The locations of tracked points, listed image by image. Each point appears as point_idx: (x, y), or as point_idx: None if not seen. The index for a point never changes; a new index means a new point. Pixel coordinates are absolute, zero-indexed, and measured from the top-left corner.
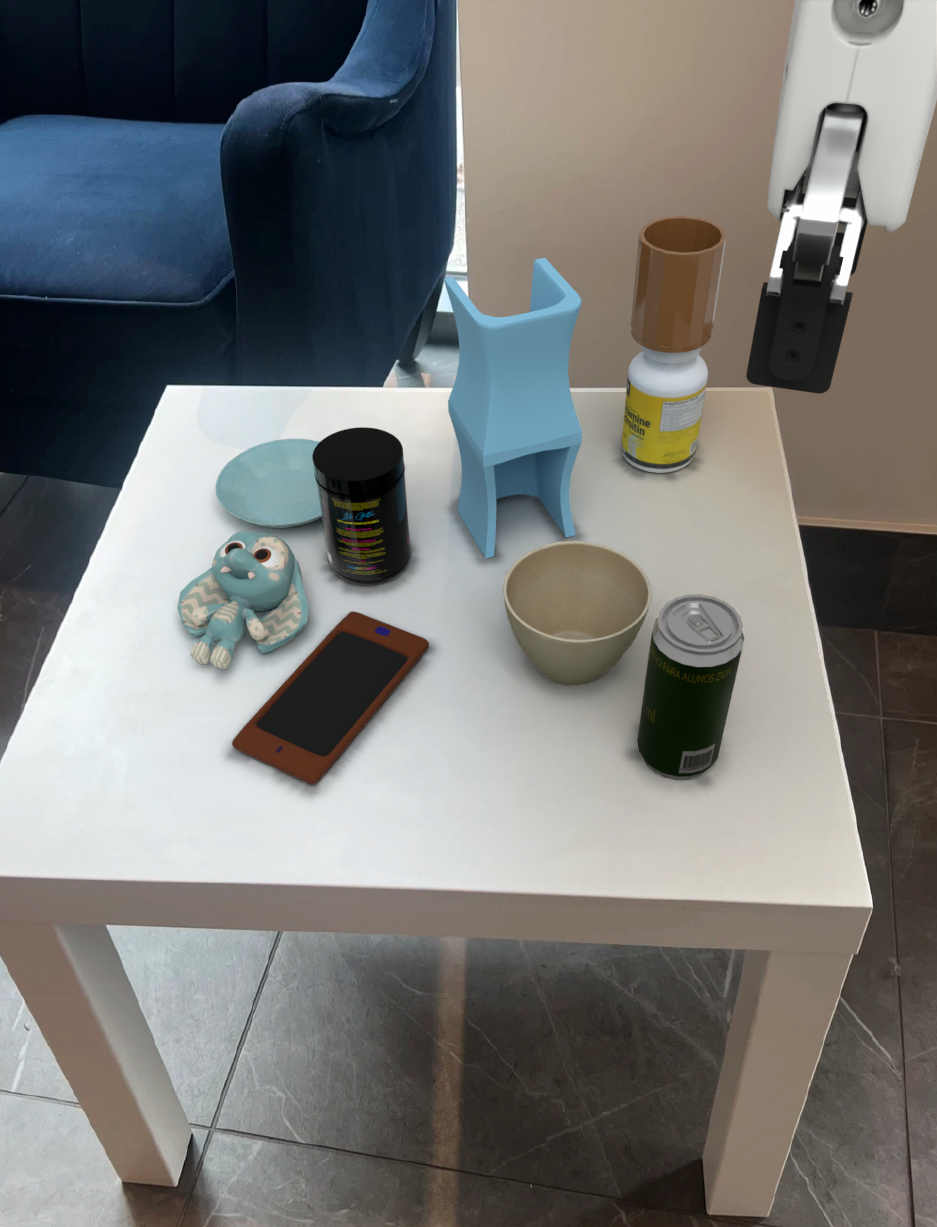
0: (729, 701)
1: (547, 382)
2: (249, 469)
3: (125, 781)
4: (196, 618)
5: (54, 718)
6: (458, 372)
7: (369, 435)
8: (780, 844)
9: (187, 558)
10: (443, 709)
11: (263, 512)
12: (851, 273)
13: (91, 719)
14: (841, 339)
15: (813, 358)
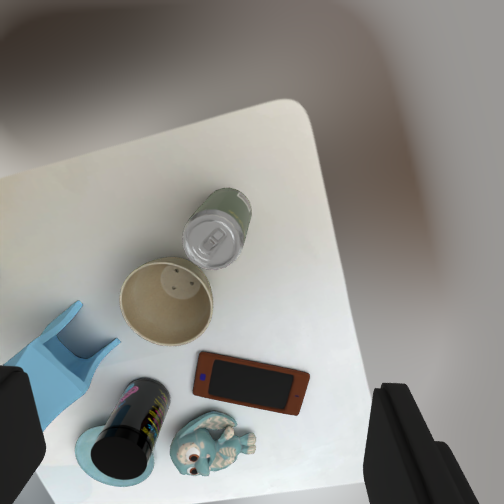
0: (225, 199)
1: None
2: None
3: (328, 444)
4: (233, 460)
5: (302, 482)
6: None
7: (99, 457)
8: (276, 142)
9: None
10: (240, 331)
11: None
12: (17, 368)
13: (297, 469)
14: (443, 461)
15: (458, 470)
